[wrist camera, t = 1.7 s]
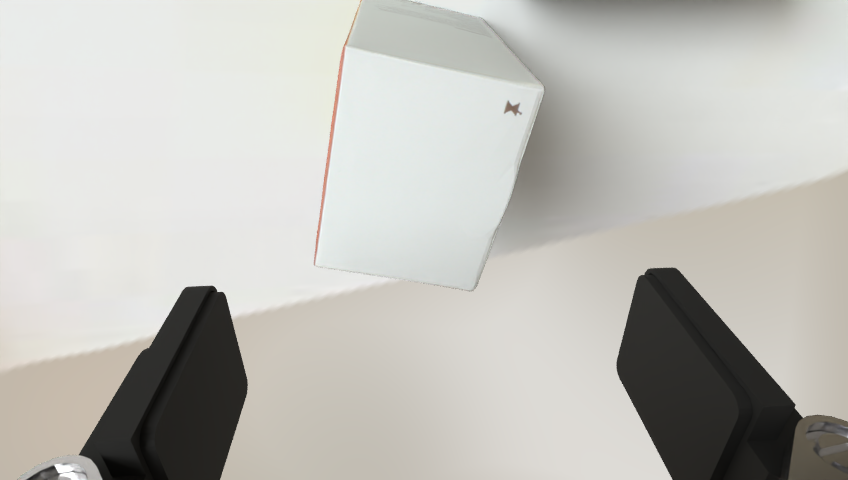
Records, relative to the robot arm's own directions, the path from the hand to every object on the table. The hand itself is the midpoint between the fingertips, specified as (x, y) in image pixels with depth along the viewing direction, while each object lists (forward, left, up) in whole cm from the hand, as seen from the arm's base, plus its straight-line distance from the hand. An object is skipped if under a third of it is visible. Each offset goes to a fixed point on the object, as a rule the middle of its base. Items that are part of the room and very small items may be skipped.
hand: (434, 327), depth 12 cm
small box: (-1, 0, -20) cm, 20 cm away
